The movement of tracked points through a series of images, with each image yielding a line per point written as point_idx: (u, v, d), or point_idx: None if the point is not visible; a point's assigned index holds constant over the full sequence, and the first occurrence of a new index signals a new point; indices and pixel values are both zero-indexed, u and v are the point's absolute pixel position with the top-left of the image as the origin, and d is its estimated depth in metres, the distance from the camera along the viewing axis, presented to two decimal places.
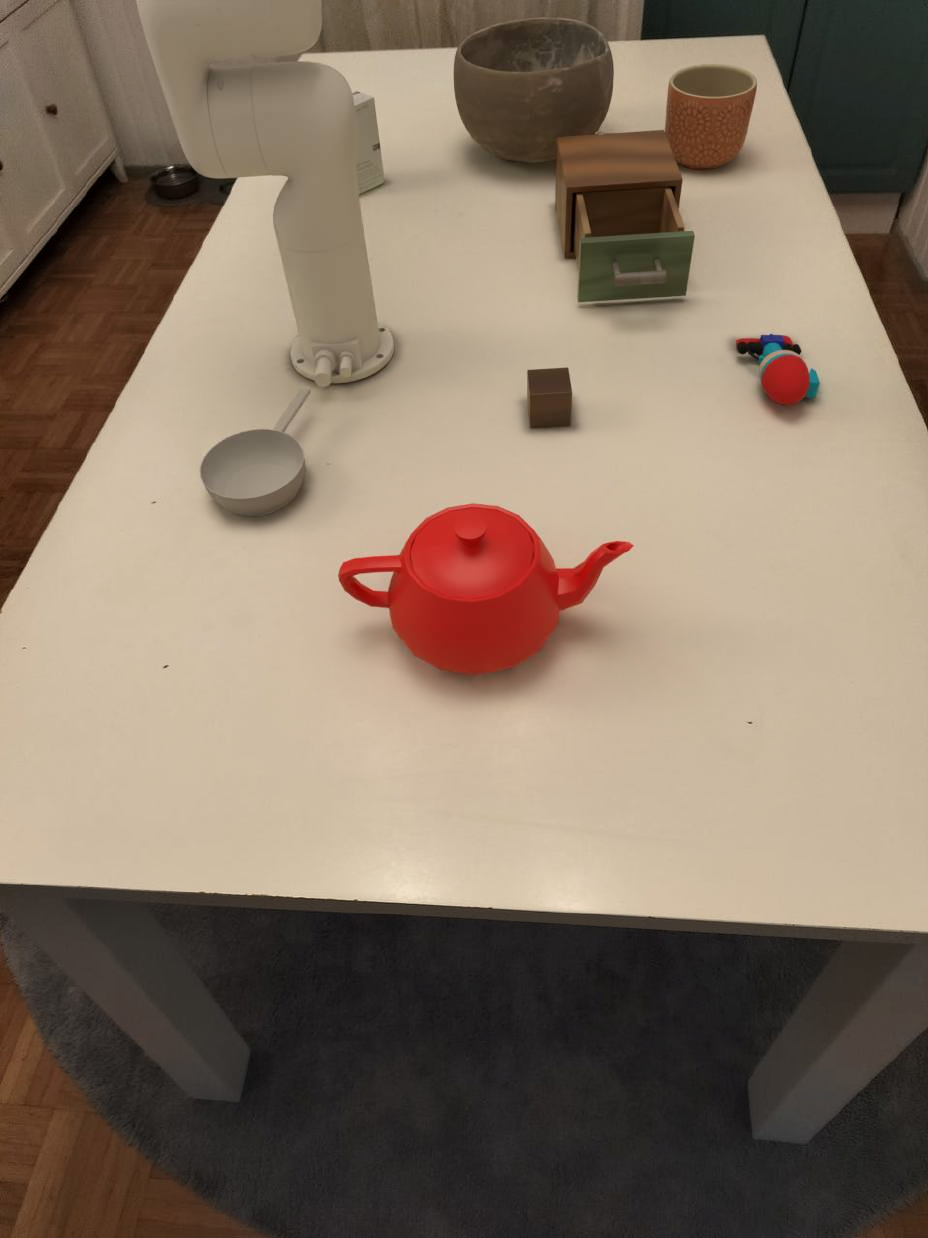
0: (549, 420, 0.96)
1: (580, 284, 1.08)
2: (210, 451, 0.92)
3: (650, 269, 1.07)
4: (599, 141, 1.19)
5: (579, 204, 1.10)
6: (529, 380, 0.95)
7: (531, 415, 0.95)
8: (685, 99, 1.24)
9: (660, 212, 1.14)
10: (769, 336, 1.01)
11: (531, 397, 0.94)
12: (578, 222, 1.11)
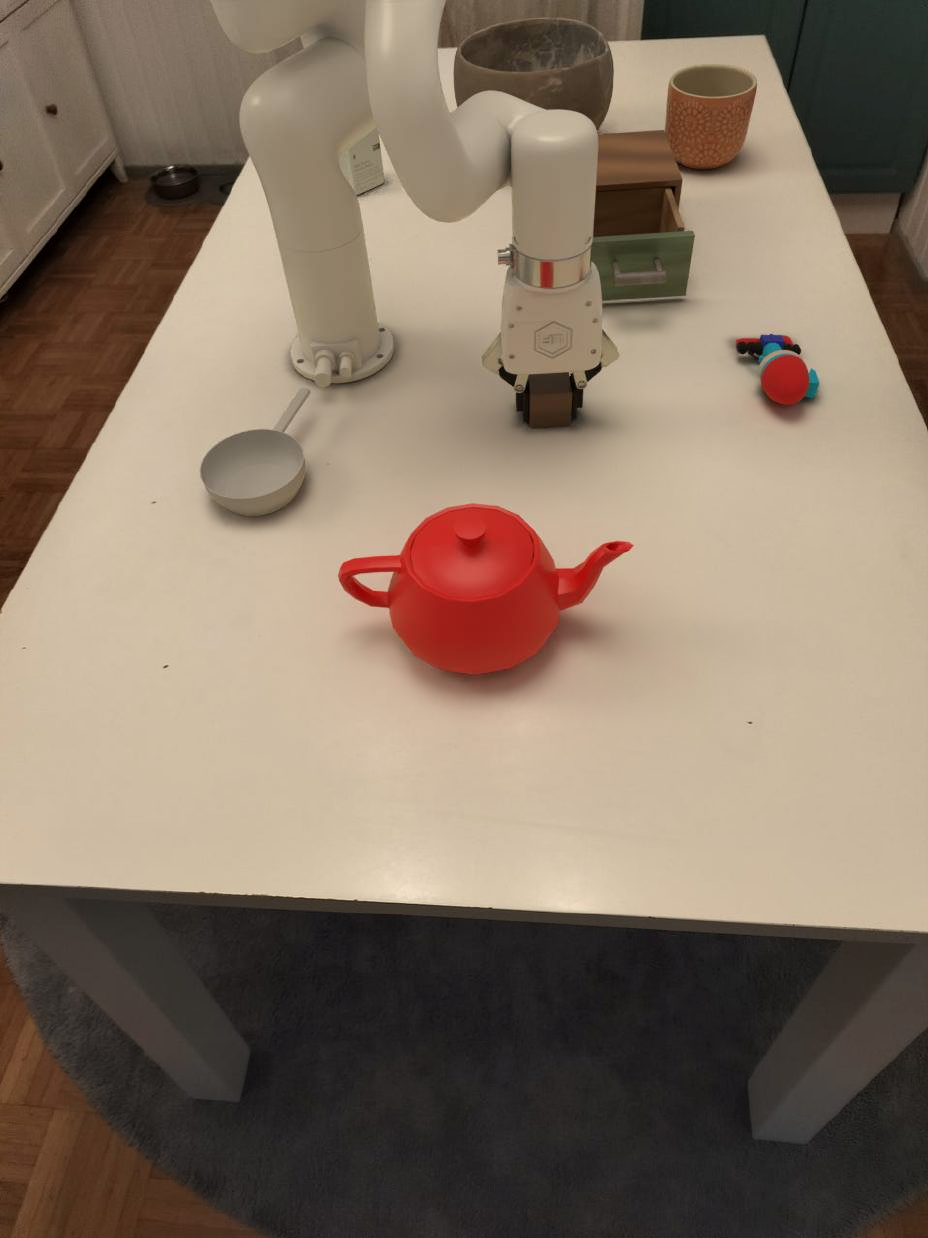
0: (549, 420, 0.96)
1: None
2: (210, 451, 0.92)
3: (650, 269, 1.07)
4: (599, 141, 1.19)
5: None
6: (529, 380, 0.95)
7: (531, 415, 0.95)
8: (685, 98, 1.24)
9: (660, 212, 1.14)
10: (769, 336, 1.01)
11: (531, 397, 0.94)
12: None
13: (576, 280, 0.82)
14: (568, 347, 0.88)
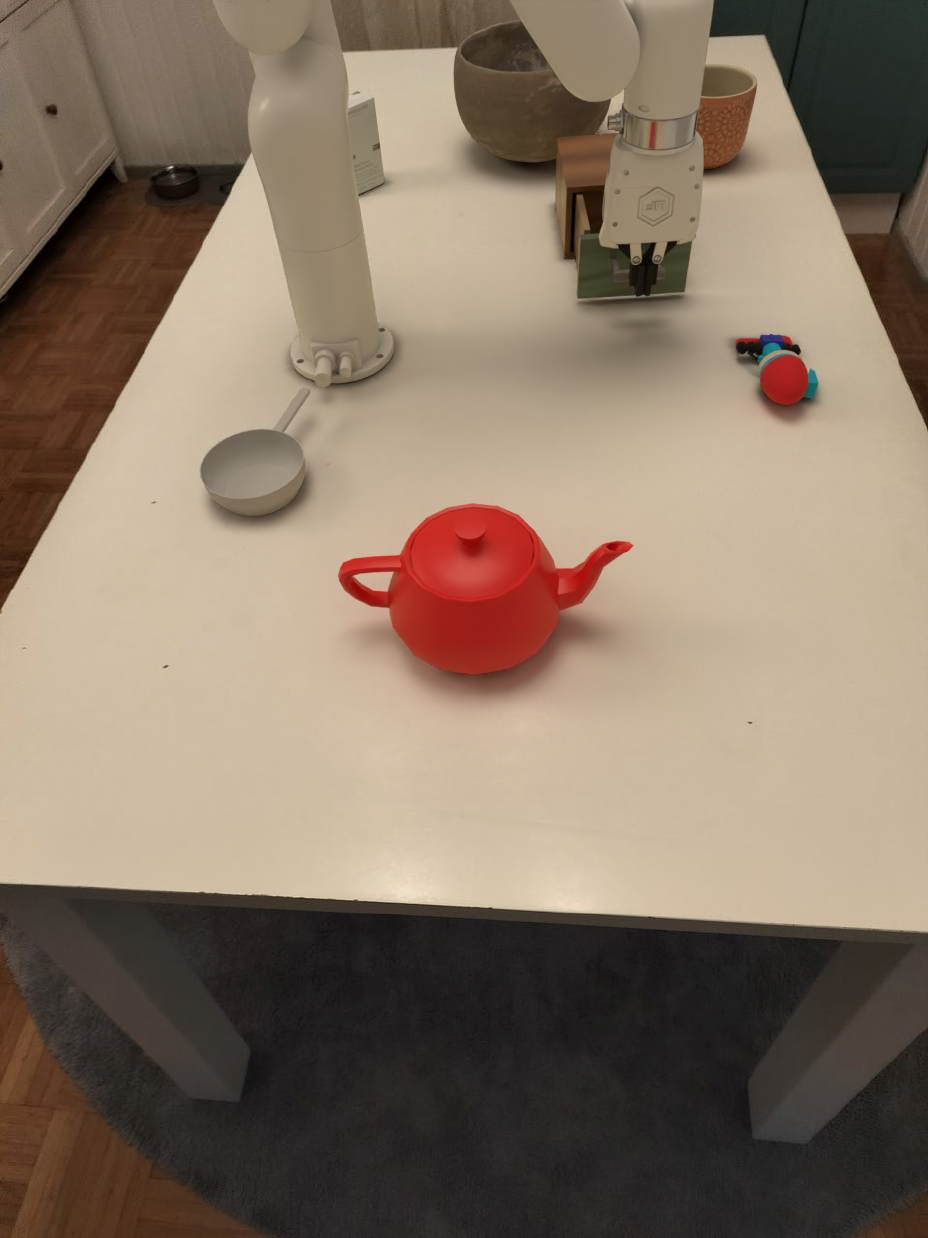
0: None
1: (579, 280, 1.09)
2: (210, 451, 0.92)
3: None
4: (599, 141, 1.19)
5: (578, 201, 1.11)
6: None
7: None
8: None
9: None
10: (769, 336, 1.01)
11: None
12: (577, 219, 1.12)
13: (683, 142, 0.88)
14: (669, 214, 0.94)
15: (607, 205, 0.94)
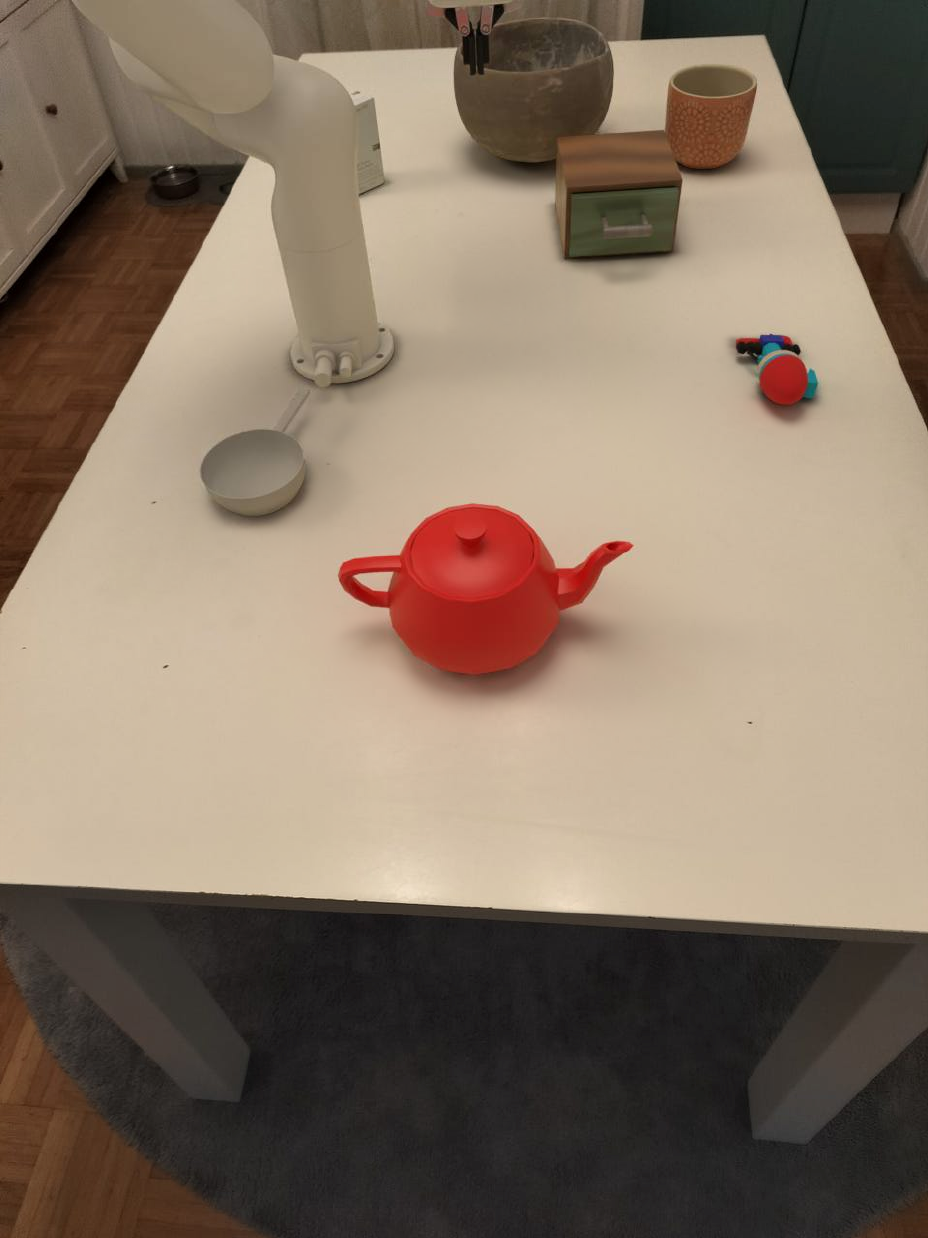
0: None
1: (571, 239, 1.15)
2: (210, 451, 0.92)
3: (637, 224, 1.14)
4: (599, 141, 1.19)
5: None
6: None
7: None
8: (685, 98, 1.24)
9: None
10: (769, 336, 1.01)
11: None
12: None
13: None
14: None
15: None
